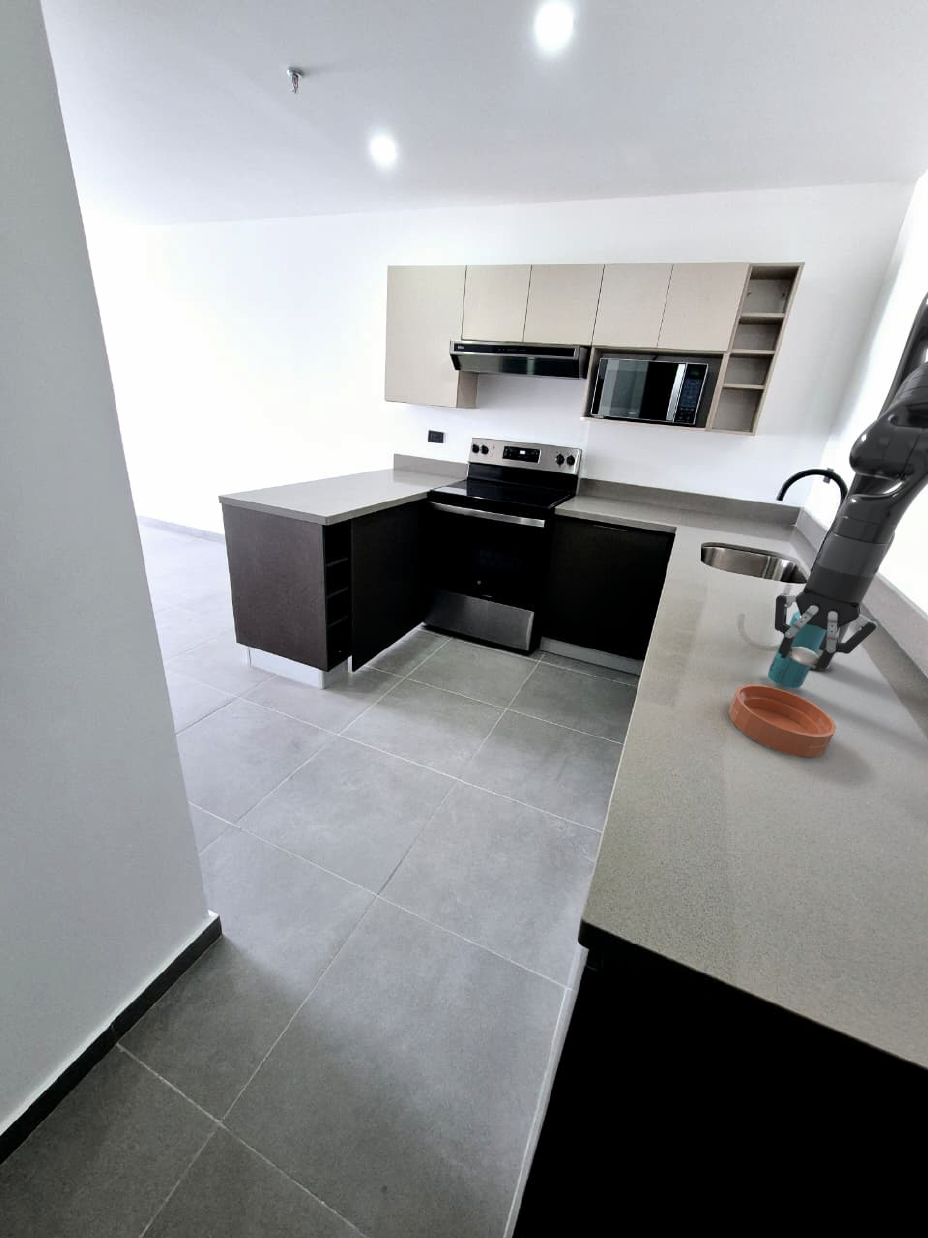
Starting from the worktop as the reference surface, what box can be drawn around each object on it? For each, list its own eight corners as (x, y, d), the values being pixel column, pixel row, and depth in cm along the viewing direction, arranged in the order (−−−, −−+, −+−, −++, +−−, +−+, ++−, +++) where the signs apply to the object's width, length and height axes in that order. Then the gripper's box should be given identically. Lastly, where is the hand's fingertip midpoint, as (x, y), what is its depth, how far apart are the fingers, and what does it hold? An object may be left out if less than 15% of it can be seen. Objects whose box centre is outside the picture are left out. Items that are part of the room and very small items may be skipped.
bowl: (741, 695, 96) (749, 675, 94) (830, 734, 87) (842, 713, 85) (716, 724, 85) (725, 703, 83) (815, 772, 76) (828, 749, 74)
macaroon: (817, 664, 81) (823, 651, 80) (812, 674, 78) (818, 660, 77) (788, 654, 84) (794, 641, 83) (782, 663, 80) (788, 649, 79)
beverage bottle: (804, 698, 98) (848, 607, 89) (769, 691, 99) (810, 600, 90) (791, 681, 104) (831, 595, 95) (758, 675, 104) (795, 589, 96)
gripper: (906, 576, 72) (853, 674, 79) (797, 549, 80) (759, 640, 87) (903, 586, 67) (847, 690, 74) (787, 556, 75) (748, 652, 82)
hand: (800, 662), depth 81 cm, fingers closed on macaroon, 4 cm apart
